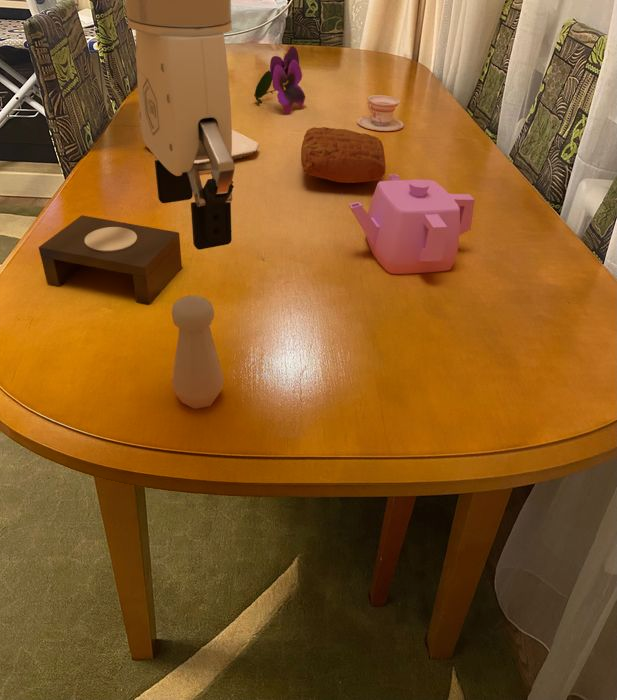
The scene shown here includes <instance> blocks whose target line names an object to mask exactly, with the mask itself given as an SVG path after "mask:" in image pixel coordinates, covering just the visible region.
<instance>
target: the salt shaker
mask: <svg viewBox="0 0 617 700" xmlns="http://www.w3.org/2000/svg"><path fill="white" fill-rule="evenodd" d="M171 317H172V321H173V325H174V326H175V327H176V328H178V335H177V342H176V343H177V344H176V349H175V355H174V363H173V371H172V378H171V383H172V388H173V391H174V394H175V395H176V396H177V398H178V400H179V401H180V402H181V403H182V404H183V405H186V406H187V407H190V408H191V409H194V410H197V409H202V408H208V407H211V406H212V405H213V403H214V401H216V399H217V398H218V396H219V395H220V393H221V392H222V389H223V387H224V384H225V377H224V373H223V369H222V366H221V362H220V358H219V355H218V352H217V347H216V345H215V344H216V343H215V341H214V338H213V334H212V330H211V327H210V326H211V325H212V324H213V320H214V318H215V310H214V305H213V304H212V301H211V300H208V299H207V298H206V297H204V296H200V295H186V296H182V297H180V298H179V299H177V300H176V301H175V302H174V303H173V305H172V307H171Z"/></svg>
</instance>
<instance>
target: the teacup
mask: <svg viewBox="0 0 617 700" xmlns="http://www.w3.org/2000/svg"><path fill="white" fill-rule="evenodd" d="M366 99H367V102H366V104H367V109H368V111H369V113H370V114H371V115H363V116H360V117H359V118H357V120H356V122H357V125H359V126H360V127H362V128H365V129H368V130H371V131H379V132H393V131H395V132H396V131H398V130H402V129H404V126H405V123H404V122H403V121H402V120H400V119H398V118H395V117H393V115H394V112H395V110H396V108H397V107H398V106H399V105H400V103H401V99H399V98H396V97H394V96H390V95H385V94H375V95H374V94H373V95H369V96H368V97H367V98H366Z"/></svg>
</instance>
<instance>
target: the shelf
mask: <svg viewBox="0 0 617 700" xmlns="http://www.w3.org/2000/svg"><path fill="white" fill-rule="evenodd" d="M181 250H182V249H181V237H180V232H178V231H173V230H168V229H163V228H156V227H150V226H145V225H140V224H139V225H138V224H134V223H127V222H123V221H117V220H111V219H105V218H101V217H94V216H88V215H80V216H78V217H77V218H76V219H74V220H73V221H72V222H71V223H69V224H68V225H66V226H65V227H64V228H62V229H61V230H60V231H58V232H57V233H55V234H54V235H53V236H51V237H50V238H49V239H47V240H46V241H44V243H42V244H41V245H40V246H38V251H39V256H40V259H41V263H42V264H41V265H42V269H43V272H44V276H45V280H46V284H47V285H49V286H54V287H59V288H60V287H61V286H62V285H64V284H65V283H66V282H67V281H68V280H69V279H70V278H72V277H73V276H74V275H75V274H76V273H78V271H79V270H81V269H82V268H83V267H84V266H87V267H90V268H91V267H93V268H97V269H103V270H107V271H112V272H117V273H118V272H119V273H123V274H128V275H132V280H133V287H134V295H135V302H136V303H138V304H142V305H143V304H144V305H148V306H150V305H151V304H152V303H153V301H154V300H155V299H157V298H158V296H159V295H160V294H161V292H162V291H163V290H164V289H165V288H166V287H167V285H168V284H169V283H170V282H171V281H172V280H173V279H174V278H175V277H176V276H177V275H178V273H179V272H180V271H181V270H182V268H183V262H182V252H181Z"/></svg>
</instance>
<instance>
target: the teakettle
mask: <svg viewBox="0 0 617 700" xmlns="http://www.w3.org/2000/svg"><path fill="white" fill-rule="evenodd" d="M387 177H388V179H387V180H380V181H379V182H378V183H377V185H376V187H375V190H374V192H373V196H372V198H371V201H370V205H369V208H368V212H367V211H366V209H365V208H364V207H363V204H362V202H360V201H357V202H353V203H349V204H348V207H349V209H350V210H351V212H352V213H353V215H354V217H355V219H356V220H357V222H358V224H359V225H360V227H361V229H362V230H363V232H364V233H365V235H366V240H367V244H368V247H369V249H370V251H371V254H372V255H373V257H374V258H375V259H376V261H377V262H378V263H379V265H380V266H381V267H382V268H383V269H384V271H386V272H387V273H389V274H391V275H408V274H411V275H412V274H429V273H439V272H446V271H450V270H451V268H452V267H453V266H454V263H455V261H456V259H457V256H458V252H459V251H458V250H459V243H460V236H461V235H464V234H465V233H467V232H469V231H470V230H472V224H473V223H472V222H473V215H474V208H475V201H476V200H475V199H474V197H473V196H472V195H471V194H470V193H449V192H448V191H447V190H446V189H445V188H444V187H442V186H441V185H440V184H439V183H438V182H436V181H434V180H432V179H419V178H416V179H415V178H414V179H400V177H401V176H400V175H398V174H397V173H395V174H388V176H387Z"/></svg>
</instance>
